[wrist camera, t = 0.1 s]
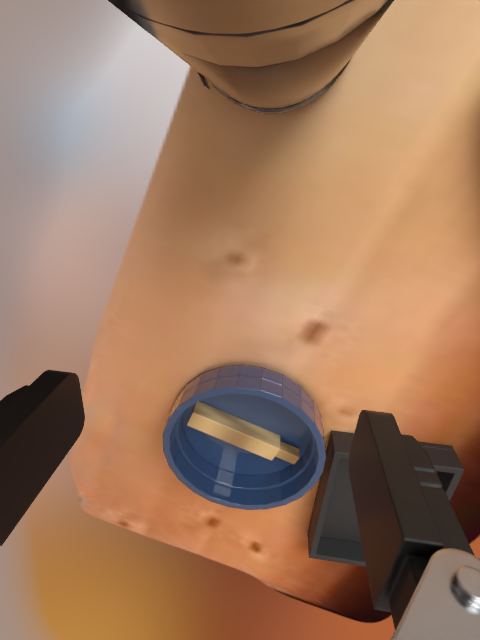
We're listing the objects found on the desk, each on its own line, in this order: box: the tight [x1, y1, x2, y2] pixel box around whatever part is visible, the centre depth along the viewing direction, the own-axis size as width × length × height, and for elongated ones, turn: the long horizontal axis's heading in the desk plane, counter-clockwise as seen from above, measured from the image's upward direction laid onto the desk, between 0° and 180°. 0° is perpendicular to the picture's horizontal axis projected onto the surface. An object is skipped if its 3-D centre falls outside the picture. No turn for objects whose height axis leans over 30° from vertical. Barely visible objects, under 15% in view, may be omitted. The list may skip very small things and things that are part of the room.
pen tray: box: [308, 431, 464, 566], centre depth 33 cm, size 14×10×2 cm
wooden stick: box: [187, 401, 300, 464], centre depth 31 cm, size 10×2×2 cm, turn 66°
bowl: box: [163, 365, 326, 510], centre depth 31 cm, size 13×13×4 cm
